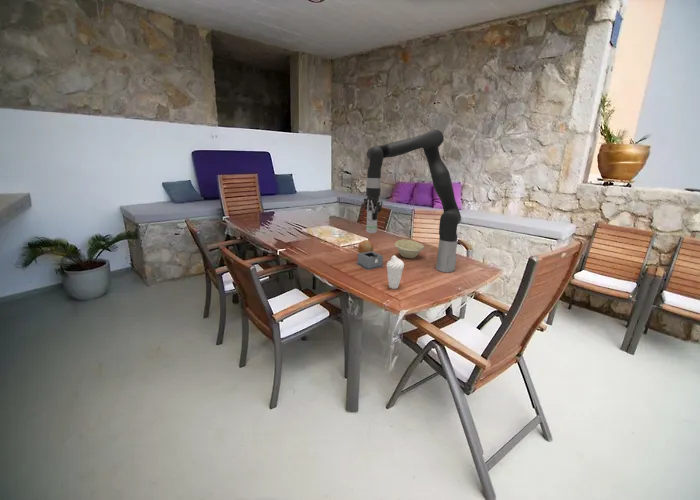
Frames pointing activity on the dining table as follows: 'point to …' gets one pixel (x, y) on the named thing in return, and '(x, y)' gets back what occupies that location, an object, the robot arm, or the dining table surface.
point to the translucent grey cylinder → (371, 222)
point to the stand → (370, 260)
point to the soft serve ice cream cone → (394, 271)
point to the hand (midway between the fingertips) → (372, 218)
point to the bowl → (408, 248)
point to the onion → (365, 246)
